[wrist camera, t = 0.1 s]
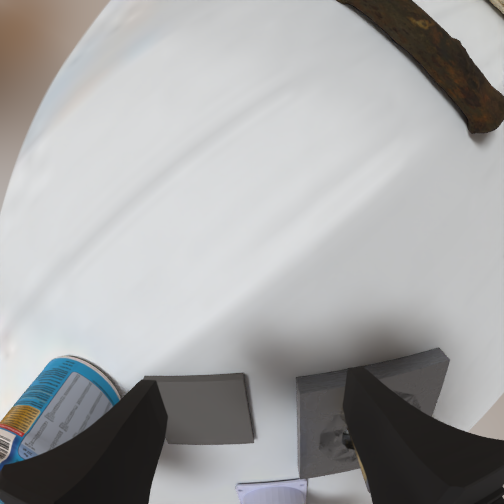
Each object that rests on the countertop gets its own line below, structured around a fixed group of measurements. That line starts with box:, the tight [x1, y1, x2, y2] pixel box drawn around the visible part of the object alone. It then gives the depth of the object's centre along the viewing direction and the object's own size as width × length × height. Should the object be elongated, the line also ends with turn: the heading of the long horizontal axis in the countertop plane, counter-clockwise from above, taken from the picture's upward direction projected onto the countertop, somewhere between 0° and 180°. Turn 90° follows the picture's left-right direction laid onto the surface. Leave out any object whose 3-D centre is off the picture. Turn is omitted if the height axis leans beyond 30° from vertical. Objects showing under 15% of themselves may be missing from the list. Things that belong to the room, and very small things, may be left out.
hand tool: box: [337, 0, 504, 134], centre depth 13 cm, size 19×4×5 cm, turn 51°
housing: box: [296, 348, 450, 479], centre depth 23 cm, size 13×13×2 cm
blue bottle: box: [0, 356, 121, 504], centre depth 13 cm, size 8×8×20 cm
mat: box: [143, 373, 254, 445], centre depth 23 cm, size 8×8×1 cm
